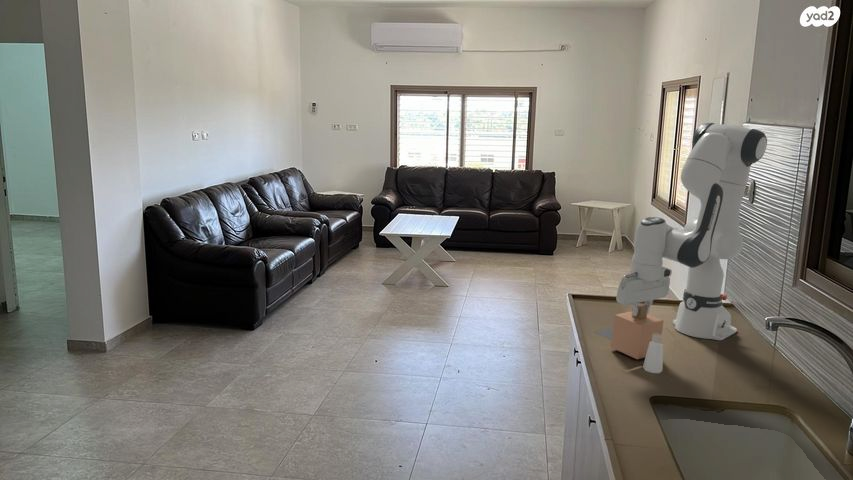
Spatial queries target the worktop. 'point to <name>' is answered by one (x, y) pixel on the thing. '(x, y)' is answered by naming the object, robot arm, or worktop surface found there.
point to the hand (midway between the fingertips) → (639, 314)
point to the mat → (606, 333)
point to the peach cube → (635, 332)
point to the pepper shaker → (654, 355)
